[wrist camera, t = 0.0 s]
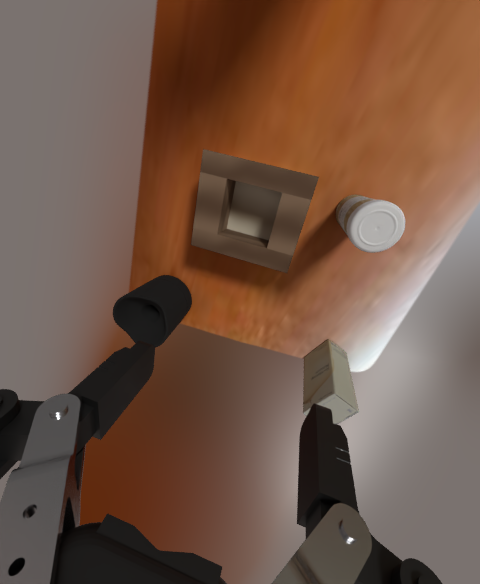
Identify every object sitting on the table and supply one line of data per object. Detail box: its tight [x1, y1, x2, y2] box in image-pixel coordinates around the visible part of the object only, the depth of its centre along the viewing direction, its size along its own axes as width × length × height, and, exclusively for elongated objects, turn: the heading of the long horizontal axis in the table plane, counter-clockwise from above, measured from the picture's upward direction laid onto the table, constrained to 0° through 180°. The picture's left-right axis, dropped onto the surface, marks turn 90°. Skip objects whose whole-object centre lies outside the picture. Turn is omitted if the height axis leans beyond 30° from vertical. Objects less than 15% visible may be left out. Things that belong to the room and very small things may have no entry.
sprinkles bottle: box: [336, 195, 405, 253], centre depth 28 cm, size 5×4×13 cm
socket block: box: [191, 149, 319, 273], centre depth 34 cm, size 12×14×6 cm
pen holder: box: [113, 275, 192, 347], centre depth 42 cm, size 9×9×10 cm
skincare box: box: [303, 339, 359, 424], centre depth 38 cm, size 6×4×12 cm
